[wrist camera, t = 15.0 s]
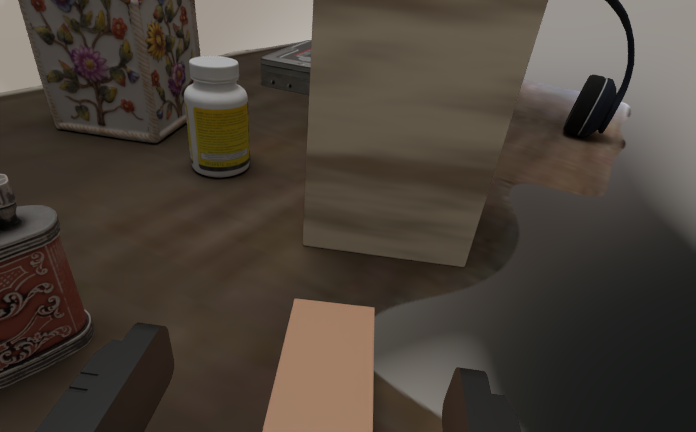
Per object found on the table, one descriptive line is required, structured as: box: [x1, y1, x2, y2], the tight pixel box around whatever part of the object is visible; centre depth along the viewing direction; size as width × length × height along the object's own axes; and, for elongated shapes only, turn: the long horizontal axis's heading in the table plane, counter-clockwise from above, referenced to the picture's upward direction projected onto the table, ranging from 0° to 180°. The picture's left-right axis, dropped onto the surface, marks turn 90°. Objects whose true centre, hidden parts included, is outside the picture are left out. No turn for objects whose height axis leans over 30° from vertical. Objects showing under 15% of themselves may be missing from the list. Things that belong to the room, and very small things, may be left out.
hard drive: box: [261, 40, 312, 95], centre depth 68 cm, size 18×27×4 cm
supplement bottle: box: [184, 56, 250, 177], centre depth 38 cm, size 5×5×10 cm
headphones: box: [564, 0, 634, 138], centre depth 56 cm, size 20×7×18 cm, turn 61°
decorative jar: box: [18, 0, 200, 143], centre depth 44 cm, size 12×12×18 cm
